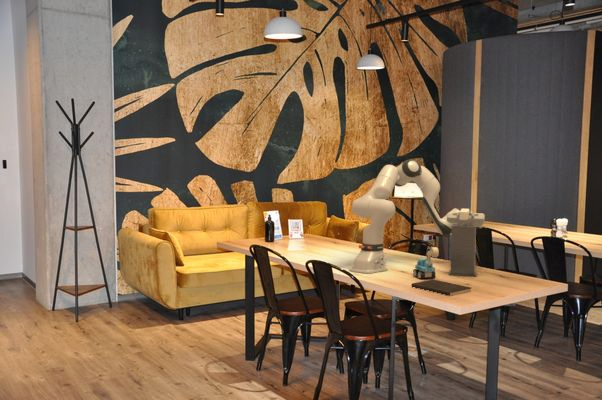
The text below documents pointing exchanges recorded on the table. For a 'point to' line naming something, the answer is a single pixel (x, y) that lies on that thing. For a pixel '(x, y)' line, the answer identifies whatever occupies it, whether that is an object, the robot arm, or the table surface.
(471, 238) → the stand
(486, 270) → the table surface
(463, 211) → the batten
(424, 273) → the toy excavator
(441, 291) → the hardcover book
